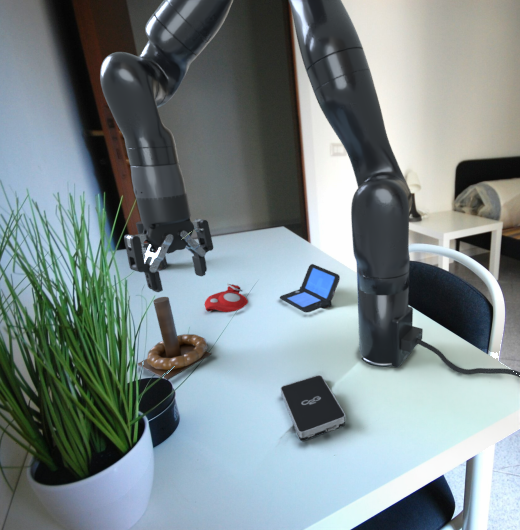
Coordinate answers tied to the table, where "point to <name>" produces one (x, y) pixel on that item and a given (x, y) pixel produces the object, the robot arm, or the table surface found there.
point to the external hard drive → (312, 407)
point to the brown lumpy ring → (178, 361)
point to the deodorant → (140, 231)
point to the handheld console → (314, 290)
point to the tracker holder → (226, 300)
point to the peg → (169, 339)
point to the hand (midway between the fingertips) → (180, 282)
